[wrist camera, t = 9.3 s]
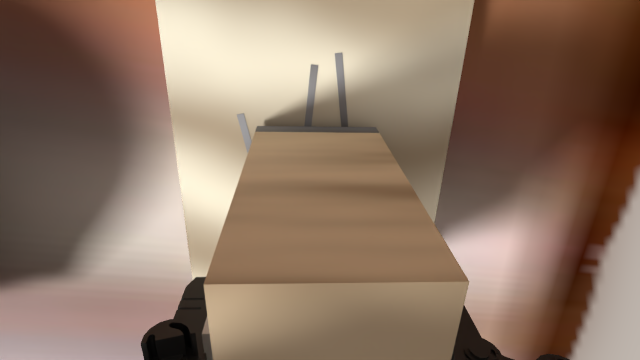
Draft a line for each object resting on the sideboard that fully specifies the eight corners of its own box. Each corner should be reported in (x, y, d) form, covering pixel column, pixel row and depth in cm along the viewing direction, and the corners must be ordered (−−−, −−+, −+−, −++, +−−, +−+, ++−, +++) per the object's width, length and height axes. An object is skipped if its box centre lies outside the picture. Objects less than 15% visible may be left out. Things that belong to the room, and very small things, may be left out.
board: (140, -229, 13) (120, -256, 11) (493, -206, 14) (515, -229, 12) (206, 320, 23) (200, 341, 22) (407, 317, 24) (414, 337, 22)
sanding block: (257, 125, 16) (203, 284, 7) (376, 127, 16) (469, 281, 7) (264, 295, 20) (235, 539, 11) (361, 294, 20) (411, 531, 11)
